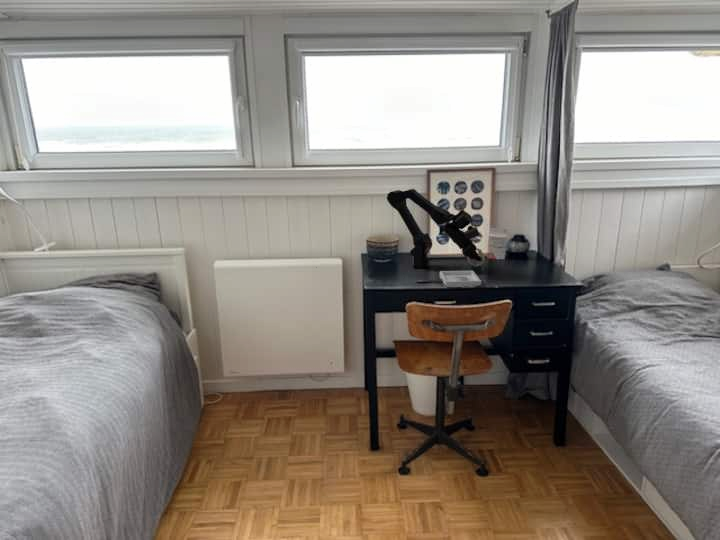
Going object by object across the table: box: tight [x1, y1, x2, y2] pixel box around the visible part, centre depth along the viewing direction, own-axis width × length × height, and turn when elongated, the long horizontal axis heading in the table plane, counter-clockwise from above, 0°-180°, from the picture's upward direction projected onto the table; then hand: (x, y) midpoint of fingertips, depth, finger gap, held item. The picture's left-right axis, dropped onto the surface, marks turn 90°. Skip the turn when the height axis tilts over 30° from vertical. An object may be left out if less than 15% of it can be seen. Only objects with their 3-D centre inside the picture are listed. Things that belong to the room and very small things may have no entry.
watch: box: [466, 247, 486, 275], centre depth 221 cm, size 6×8×11 cm
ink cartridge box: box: [486, 227, 508, 261], centre depth 241 cm, size 9×5×15 cm, turn 71°
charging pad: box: [415, 270, 482, 286], centre depth 209 cm, size 26×15×3 cm, turn 91°
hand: (479, 258), depth 220 cm, fingers open, 8 cm apart
